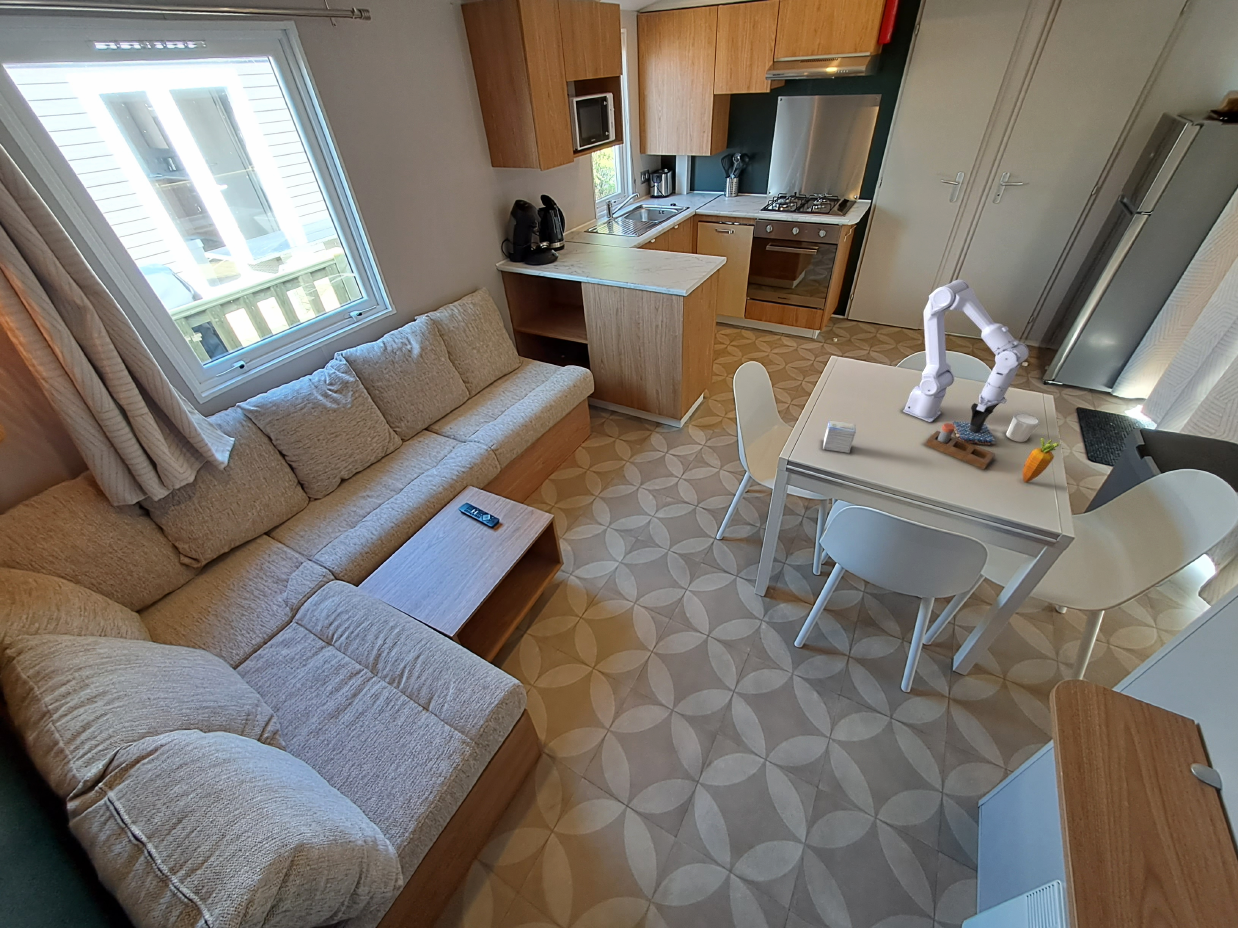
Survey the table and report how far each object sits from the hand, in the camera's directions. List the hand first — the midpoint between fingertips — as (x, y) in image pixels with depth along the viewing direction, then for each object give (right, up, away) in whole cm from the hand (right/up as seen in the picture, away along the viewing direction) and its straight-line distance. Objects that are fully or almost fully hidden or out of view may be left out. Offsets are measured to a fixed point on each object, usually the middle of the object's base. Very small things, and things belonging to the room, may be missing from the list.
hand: (979, 420), depth 156 cm
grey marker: (-12, -8, +1) cm, 14 cm away
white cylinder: (+14, -5, +2) cm, 15 cm away
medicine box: (-44, -9, +3) cm, 45 cm away
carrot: (+3, -19, -14) cm, 24 cm away
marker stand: (-8, -10, -2) cm, 13 cm away
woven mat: (0, -5, +4) cm, 6 cm away
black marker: (0, -3, +2) cm, 4 cm away
